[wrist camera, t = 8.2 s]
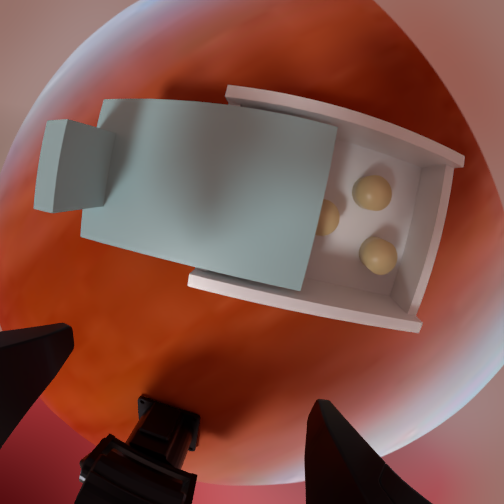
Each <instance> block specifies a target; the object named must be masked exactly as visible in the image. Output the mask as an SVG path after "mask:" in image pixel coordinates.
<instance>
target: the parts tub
mask: <svg viewBox="0 0 504 504" xmlns="http://www.w3.org/2000/svg"><path fill="white" fill-rule="evenodd" d="M225 98H226V99H227V101H228V105H233V106H240V107H247V108H253V109H259V110H265V111H271V112H276V113H281V114H286V115H291V116H295V117H300V118H304V119H309V120H313V121H317V122H321V123H325V124H329V125H332V126H336V127H338V129H337V135H336V140H335V145H334V151H333V156H332V161H331V166H330V171H329V175H328V180H327V185H326V190H325V194H324V199H323V203H322V208H321V212H320V216H319V220H318V225H317V229H316V233H315V237H314V241H313V245H312V249H311V253H310V257H309V261H308V265H307V269H306V272H305V276H304V280H303V284H302V287H301V291H297V290H292V289H288V288H283V287H279V286H274V285H270V284H265V283H261V282H256V281H252V280H248V279H243V278H239V277H235V276H231V275H226V274H222V273H218V272H214V271H210V270H206V269H201V268H197V267H195V269H194V270H193V271H192V272H191V273H190V274H189V279H188V286H190V287H193V288H197V289H201V290H205V291H209V292H213V293H217V294H221V295H225V296H229V297H234V298H238V299H242V300H246V301H251V302H255V303H259V304H264V305H268V306H273V307H277V308H282V309H287V310H291V311H296V312H301V313H306V314H311V315H316V316H321V317H326V318H331V319H337V320H342V321H347V322H353V323H359V324H364V325H370V326H376V327H382V328H388V329H395V330H401V331H408V332H415V333H419V331H420V329H421V326H422V324H423V322H422V321H421V320H420V319H419V318H418V317H417V316H416V314H417V312H418V309H419V306H420V304H421V301H422V298H423V295H424V292H425V290H426V287H427V284H428V281H429V278H430V274H431V271H432V268H433V265H434V261H435V258H436V254H437V251H438V247H439V243H440V239H441V235H442V231H443V227H444V222H445V218H446V213H447V208H448V203H449V198H450V192H451V186H452V179H453V172H454V168H461V167H464V160H465V156H464V155H462V154H460V153H458V152H456V151H454V150H452V149H450V148H448V147H446V146H444V145H442V144H439V143H437V142H435V141H433V140H431V139H428V138H426V137H424V136H422V135H419V134H417V133H415V132H412V131H410V130H407V129H405V128H402V127H400V126H397V125H394V124H392V123H389V122H386V121H383V120H381V119H378V118H375V117H372V116H369V115H366V114H363V113H360V112H356V111H353V110H350V109H346V108H343V107H340V106H336V105H332V104H328V103H325V102H321V101H317V100H312V99H308V98H304V97H299V96H295V95H290V94H285V93H279V92H274V91H268V90H262V89H256V88H249V87H241V86H233V85H228V86H227V90H226V93H225Z"/></svg>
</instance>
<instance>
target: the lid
mask: <svg viewBox="0 0 504 504" xmlns="http://www.w3.org/2000/svg"><path fill="white" fill-rule="evenodd" d="M337 129H338V127H336V126H332V125H329V124H325V123H321V122H317V121H313V120H309V119H304V118H300V117H295V116H291V115H286V114H281V113H276V112H271V111H265V110H259V109H253V108H247V107H240V106H233V105H225V104H217V103H207V102H197V101H184V100H166V99H104V101H103V105H102V108H101V112H100V116H99V120H98V124H97V127H93V126H90V125H86V124H83V123H79V122H76V121H72V120H68V119H64V120H49V121H47V124H46V128H45V133H44V138H43V142H42V148H41V153H40V159H39V165H38V172H37V180H36V188H35V198H34V209H37V210H41V211H45V212H49V213H58V212H65V211H72V210H79V209H83V212H82V223H81V237H83V238H87V239H90V240H94V241H98V242H101V243H105V244H108V245H112V246H116V247H119V248H123V249H127V250H131V251H134V252H138V253H142V254H146V255H150V256H154V257H157V258H161V259H165V260H169V261H173V262H177V263H181V264H185V265H189V266H193V267H197V268H201V269H206V270H210V271H214V272H218V273H222V274H226V275H231V276H235V277H239V278H243V279H248V280H252V281H256V282H261V283H265V284H270V285H274V286H279V287H283V288H288V289H292V290H297V291H301V287H302V284H303V280H304V276H305V272H306V269H307V265H308V261H309V257H310V253H311V249H312V245H313V241H314V237H315V233H316V229H317V225H318V220H319V216H320V212H321V208H322V203H323V199H324V194H325V190H326V185H327V180H328V175H329V171H330V166H331V161H332V156H333V151H334V145H335V140H336V135H337Z"/></svg>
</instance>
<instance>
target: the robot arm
mask: <svg viewBox="0 0 504 504" xmlns="http://www.w3.org/2000/svg"><path fill="white" fill-rule="evenodd" d="M73 349H74V338H73V330H72V327H71V326H69V325H67V324H65V323H57V324H51V325H44V326H37V327H31V328H23V329H16V330H9V331H1V332H0V449H1V447H2V445H3V444H4V443H5V441H6V440H7V438H8V437H9V436H10V434H11V433H12V431H13V430H14V429H15V427H16V426H17V425H18V423H19V422H20V421H21V419H22V418H23V417H24V415H25V414H26V413H27V411H28V410H29V409H30V407H31V406H32V405H33V403H34V402H35V401H36V400H37V399H38V397H39V396H40V395H41V394H42V392H43V391H44V390H45V389H46V387H47V386H48V385H49V384H50V382H51V381H52V380H53V379H54V377H55V376H56V375H57V373H58V372H59V370H60V369H61V367H62V366H63V364H64V363H65V361H66V360H67V358H68V357H69V355H70V354H71V352H72V351H73ZM138 413H139V421H138V423H137V424H136V426H135V428H134V429H133V431H132V433H131V434H130V436H129V438H128V439H127V441H126V443H124V442H122V441H120V440H119V439H117V438H115V436H113V435H112V434H109V435H108V436H107V437H106V438H104V439H102V440H101V441H100V443H99V444H98V445H97V446H96V448H95V449H94V450H93V451H92V452H91V453H89V454H88V455H87V456H85V457H84V458H83V459H82V460H81V461H80V466H81V474H80V478H79V480H80V482H82V483H83V485H82V487H81V489H80V491H79V493H78V495H77V498H76V500H75V503H74V504H192V500H193V495H194V490H195V484H196V480H197V475H196V474H193V473H188V472H186V471H183V470H181V468H182V465H183V462H184V460H185V457H186V454H187V451H188V450H189V451H195V449H196V443H197V437H198V430H199V424H200V416H199V415H197V414H195V413H191V412H188V411H185V410H181V409H178V408H175V407H172V406H169V405H166V404H163V403H160V402H157V401H154V400H152V399H149V398H146V397H144V396H140V397H139V399H138ZM195 418H196V419H195ZM305 485H306V504H432V503H431V502H429V501H428V500H427V499H425V498H424V497H423V496H422V495H420V494H419V493H418V492H417V491H415V490H414V489H413V488H411V487H410V486H409V485H408V484H407V483H406V482H405V481H403V480H402V479H401V478H400V477H399V476H398V475H397V474H396V473H395V472H394V471H393V470H392V469H391V468H390V467H389V466H388V465H387V464H385V462H384V460H383V459H382V458H381V457H380V456H379V455H378V454H377V453H376V452H375V451H374V450H373V449H372V448H371V446H370V445H369V444H368V443H367V442H366V441H365V440H364V439H363V438H362V437H361V435H360V434H359V433H358V432H357V431H356V430H355V429H354V428H353V427H352V426H351V424H350V423H349V422H348V421H347V420H346V419H345V418H344V417H343V415H342V414H341V413H340V412H339V411H338V410H337V409H336V407H335V406H334V405H333V404H332V403H331V402H330V401H329V400H324V399H318V400H316V402H315V403H314V406H313V408H312V410H311V412H310V414H309V416H308V420H307V433H306V445H305Z"/></svg>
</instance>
